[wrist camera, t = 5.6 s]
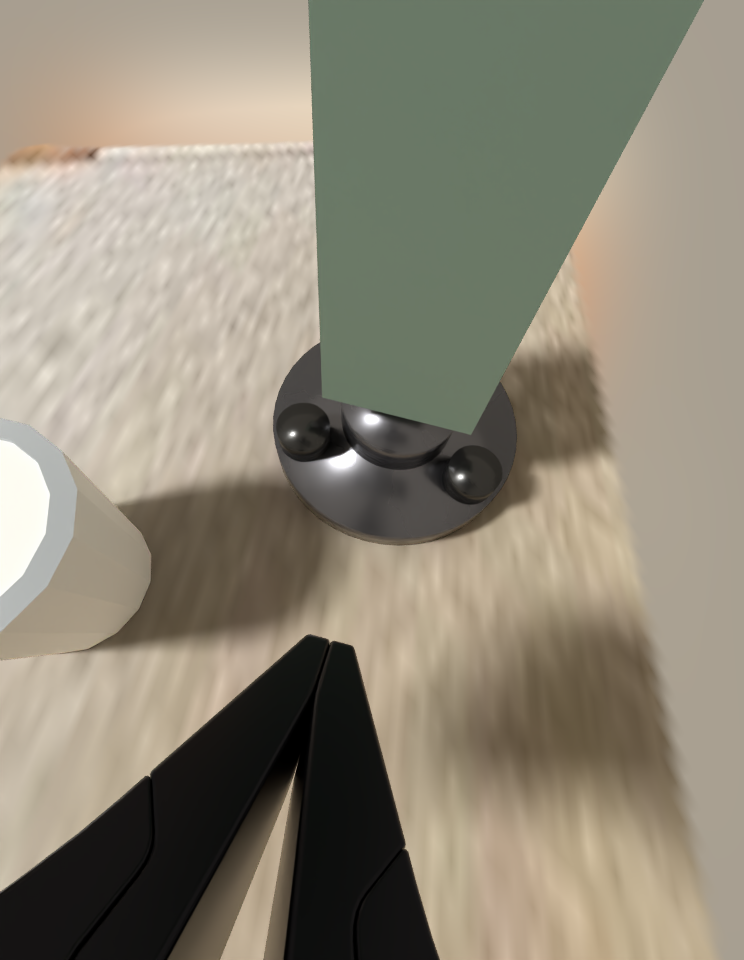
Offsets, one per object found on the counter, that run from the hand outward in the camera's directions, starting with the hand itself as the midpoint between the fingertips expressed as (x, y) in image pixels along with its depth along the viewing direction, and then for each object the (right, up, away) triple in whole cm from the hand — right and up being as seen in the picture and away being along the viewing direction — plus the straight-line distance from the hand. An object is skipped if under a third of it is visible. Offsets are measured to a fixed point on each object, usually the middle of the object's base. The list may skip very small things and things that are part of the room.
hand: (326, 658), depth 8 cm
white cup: (-11, -1, +10) cm, 15 cm away
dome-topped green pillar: (+2, +8, +11) cm, 14 cm away
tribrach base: (+2, +5, +13) cm, 15 cm away
